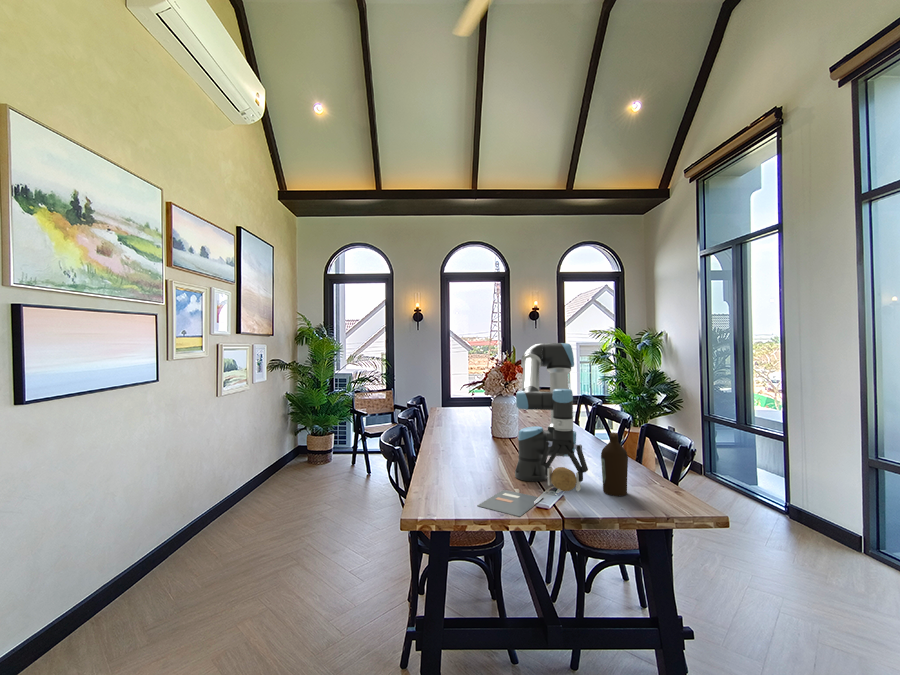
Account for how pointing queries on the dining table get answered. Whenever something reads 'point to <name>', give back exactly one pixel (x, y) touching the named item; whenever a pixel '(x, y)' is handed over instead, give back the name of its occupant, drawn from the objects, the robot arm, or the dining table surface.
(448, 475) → the dining table surface
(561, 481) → the potato
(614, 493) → the olive oil
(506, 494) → the tile
